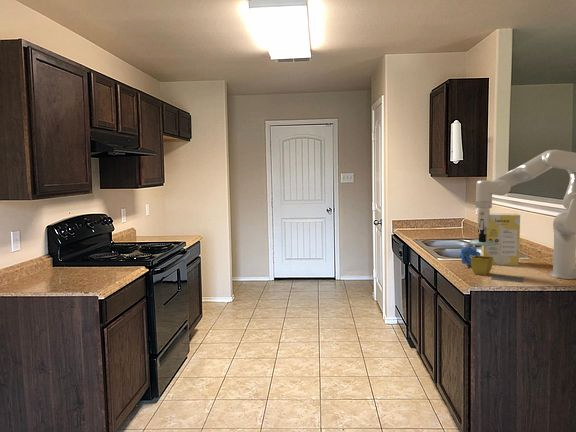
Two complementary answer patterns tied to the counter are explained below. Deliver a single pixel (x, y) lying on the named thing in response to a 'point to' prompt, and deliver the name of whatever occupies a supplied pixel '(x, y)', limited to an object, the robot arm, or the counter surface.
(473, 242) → the lid
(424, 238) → the counter surface
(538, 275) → the counter surface
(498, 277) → the mat
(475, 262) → the flower pot
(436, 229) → the counter surface
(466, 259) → the grapes
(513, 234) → the pasta box
